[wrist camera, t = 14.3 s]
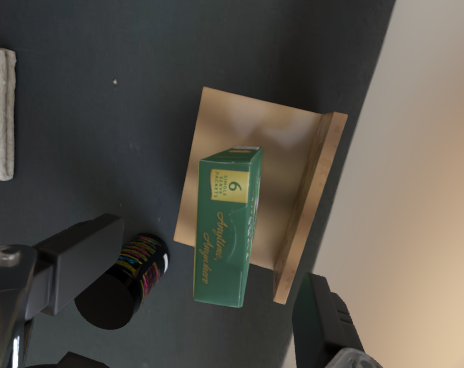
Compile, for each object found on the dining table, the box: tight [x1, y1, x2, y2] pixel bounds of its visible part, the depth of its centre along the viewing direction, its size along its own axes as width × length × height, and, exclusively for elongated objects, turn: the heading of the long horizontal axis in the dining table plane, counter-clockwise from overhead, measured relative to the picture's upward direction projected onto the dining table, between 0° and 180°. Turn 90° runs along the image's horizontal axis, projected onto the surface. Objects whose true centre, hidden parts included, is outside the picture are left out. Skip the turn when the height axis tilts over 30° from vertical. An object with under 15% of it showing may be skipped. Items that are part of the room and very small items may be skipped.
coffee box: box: [193, 146, 263, 307], centre depth 19 cm, size 8×3×13 cm, turn 176°
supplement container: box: [74, 234, 170, 330], centre depth 32 cm, size 7×7×10 cm
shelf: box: [174, 87, 348, 304], centre depth 27 cm, size 16×12×12 cm
